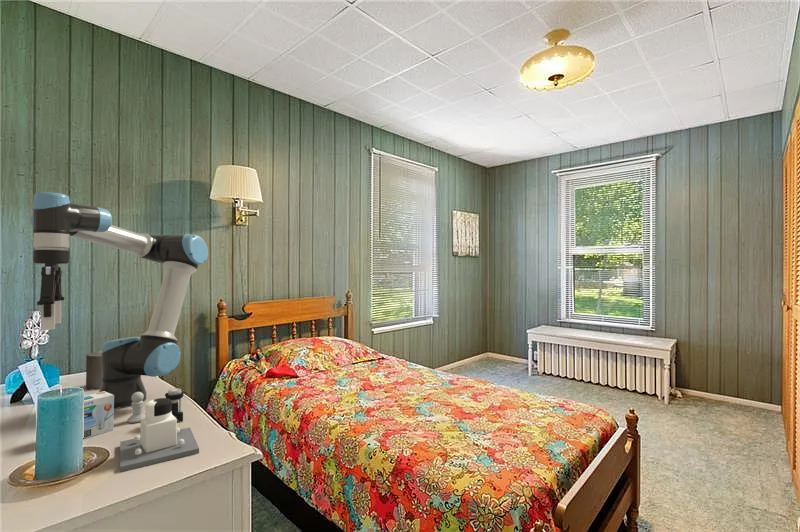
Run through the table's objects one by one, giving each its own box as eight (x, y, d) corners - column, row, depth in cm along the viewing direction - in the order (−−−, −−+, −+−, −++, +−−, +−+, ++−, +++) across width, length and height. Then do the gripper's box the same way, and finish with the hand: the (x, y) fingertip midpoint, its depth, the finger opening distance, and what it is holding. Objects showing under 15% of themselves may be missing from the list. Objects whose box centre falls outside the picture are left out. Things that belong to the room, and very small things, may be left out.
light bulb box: (71, 443, 111) (71, 404, 111) (61, 437, 115) (62, 400, 115) (115, 429, 120) (115, 394, 120) (104, 425, 124) (105, 390, 124)
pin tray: (120, 446, 109) (120, 434, 109) (189, 431, 119) (189, 420, 119) (120, 471, 95) (120, 458, 95) (199, 452, 105) (199, 440, 105)
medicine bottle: (170, 437, 112) (170, 394, 112) (177, 445, 107) (177, 400, 107) (140, 444, 107) (140, 400, 107) (146, 453, 102) (146, 406, 102)
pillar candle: (79, 388, 162) (80, 351, 162) (103, 382, 171) (104, 347, 171) (97, 391, 159) (97, 353, 159) (121, 384, 168) (121, 348, 168)
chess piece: (134, 417, 131) (135, 389, 131) (151, 417, 130) (151, 389, 130) (123, 423, 125) (123, 394, 125) (139, 423, 125) (139, 394, 125)
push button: (159, 426, 123) (159, 394, 123) (160, 421, 127) (160, 389, 127) (184, 422, 126) (184, 391, 126) (184, 417, 130) (184, 386, 130)
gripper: (40, 250, 118) (40, 322, 118) (24, 247, 98) (24, 333, 98) (73, 251, 122) (73, 320, 122) (64, 247, 102) (64, 331, 102)
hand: (51, 326), depth 110 cm, fingers open, 13 cm apart
